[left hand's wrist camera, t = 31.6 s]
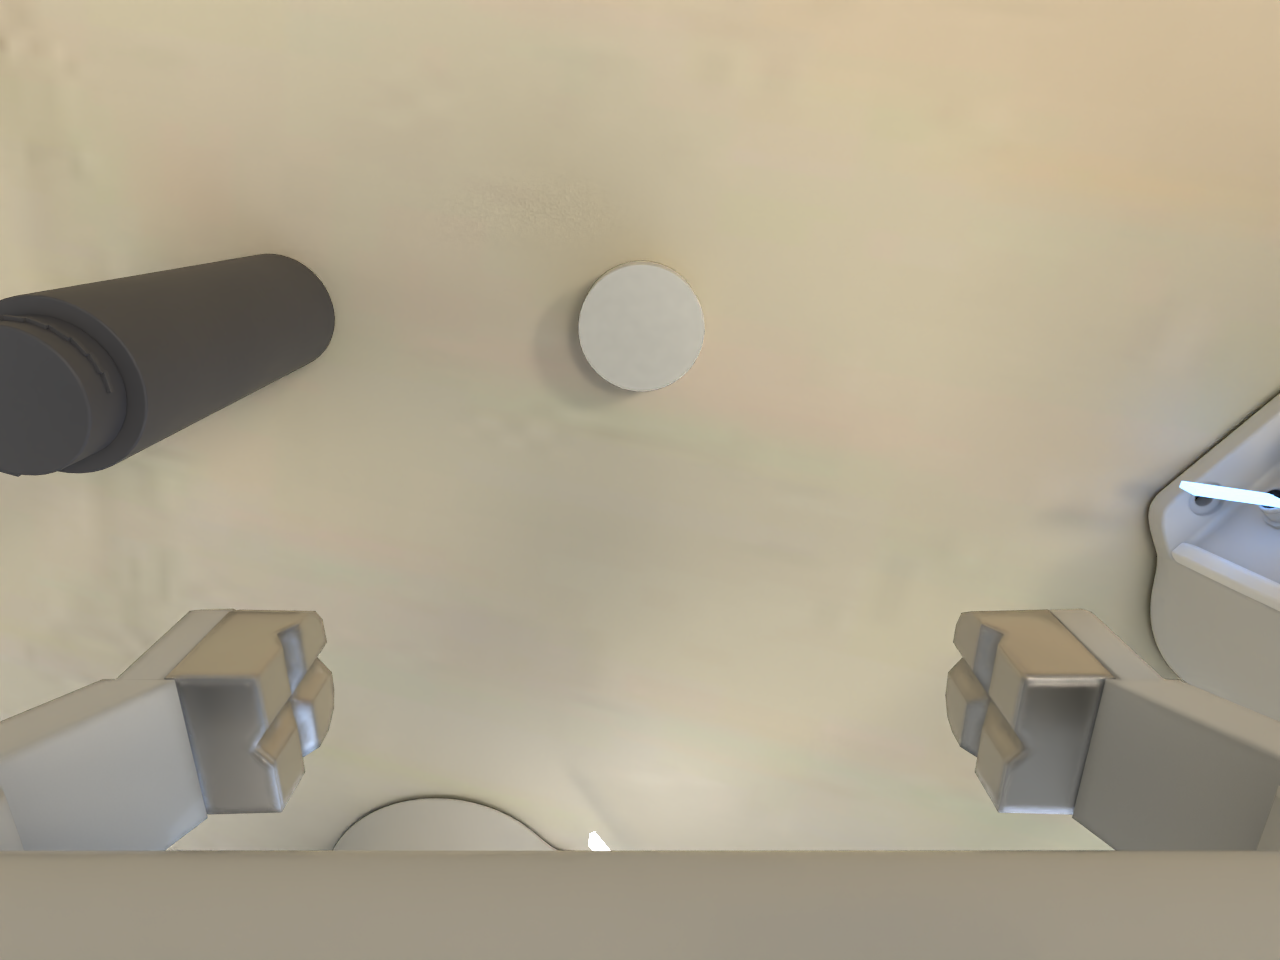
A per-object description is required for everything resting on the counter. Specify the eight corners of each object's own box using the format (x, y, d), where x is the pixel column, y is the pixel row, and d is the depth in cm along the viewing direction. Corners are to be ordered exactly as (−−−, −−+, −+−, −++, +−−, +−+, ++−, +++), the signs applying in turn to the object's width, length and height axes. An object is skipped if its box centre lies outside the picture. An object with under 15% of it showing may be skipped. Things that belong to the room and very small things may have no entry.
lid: (718, 357, 37) (721, 365, 35) (608, 398, 37) (606, 408, 35) (677, 241, 35) (679, 244, 33) (562, 287, 35) (558, 292, 34)
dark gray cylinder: (231, 236, 35) (-89, 272, 19) (346, 278, 35) (122, 345, 20) (211, 345, 36) (-98, 457, 21) (321, 383, 37) (97, 519, 22)
